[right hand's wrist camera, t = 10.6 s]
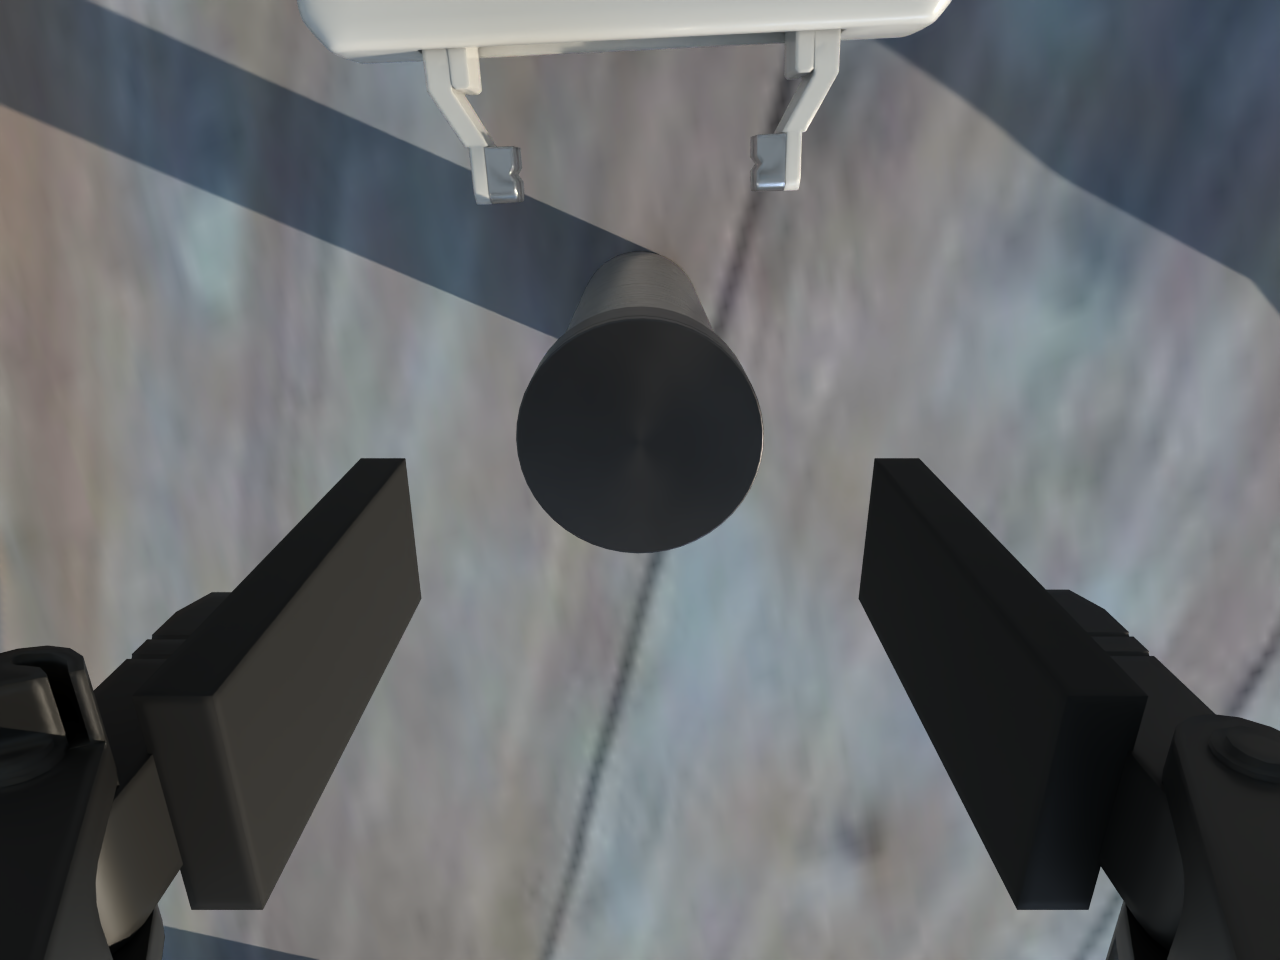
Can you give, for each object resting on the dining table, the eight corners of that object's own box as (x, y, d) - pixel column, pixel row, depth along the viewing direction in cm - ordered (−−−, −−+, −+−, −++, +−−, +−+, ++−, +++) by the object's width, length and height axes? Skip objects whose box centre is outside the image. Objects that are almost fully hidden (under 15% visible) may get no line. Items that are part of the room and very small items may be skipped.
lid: (479, 396, 20) (465, 416, 18) (667, 256, 19) (669, 264, 17) (616, 562, 21) (614, 594, 20) (797, 445, 20) (810, 468, 19)
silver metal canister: (558, 298, 35) (485, 413, 19) (653, 226, 34) (666, 280, 17) (627, 390, 37) (617, 572, 20) (720, 324, 36) (790, 459, 19)
